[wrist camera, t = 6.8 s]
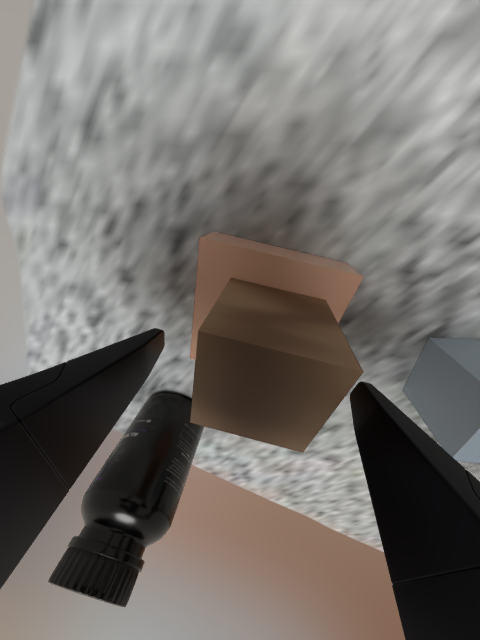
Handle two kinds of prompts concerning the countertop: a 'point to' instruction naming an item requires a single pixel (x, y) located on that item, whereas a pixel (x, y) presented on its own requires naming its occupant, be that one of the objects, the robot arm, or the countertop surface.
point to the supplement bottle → (131, 501)
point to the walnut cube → (270, 365)
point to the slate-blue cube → (449, 394)
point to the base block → (267, 274)
